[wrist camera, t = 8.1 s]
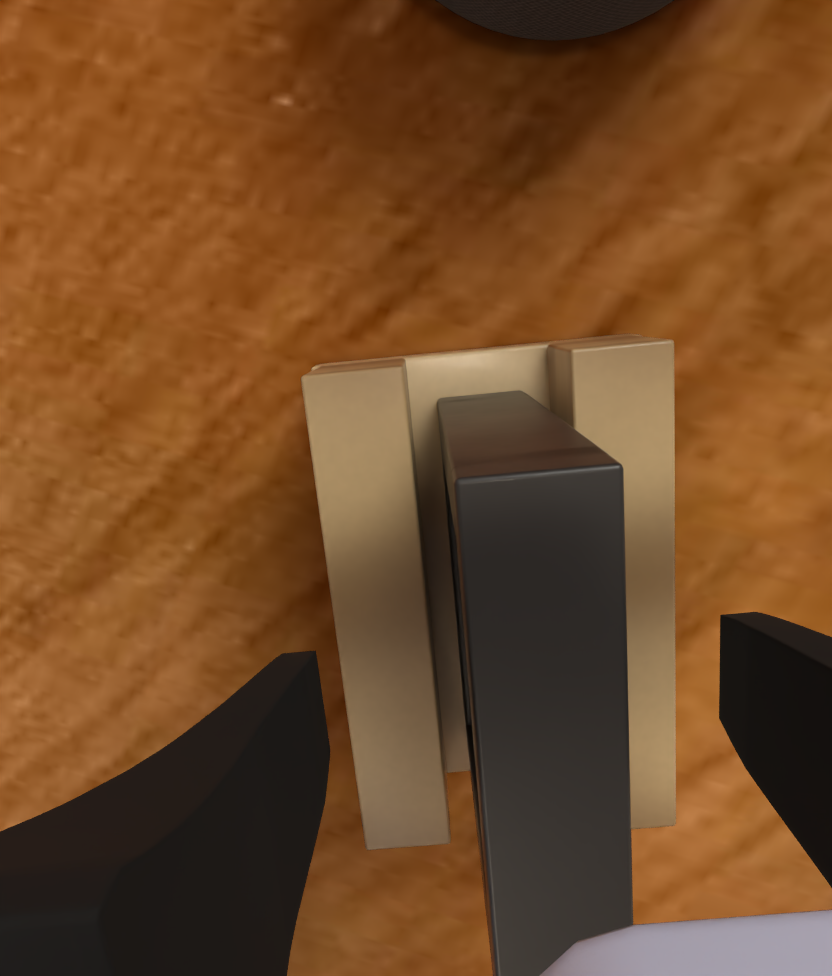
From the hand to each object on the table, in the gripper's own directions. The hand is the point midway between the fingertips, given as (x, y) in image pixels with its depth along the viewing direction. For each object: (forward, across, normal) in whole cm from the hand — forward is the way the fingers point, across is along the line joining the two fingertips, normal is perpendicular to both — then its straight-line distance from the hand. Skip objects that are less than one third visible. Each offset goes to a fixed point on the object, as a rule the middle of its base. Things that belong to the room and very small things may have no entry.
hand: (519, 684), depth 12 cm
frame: (+5, 0, 0) cm, 5 cm away
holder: (+6, 0, 0) cm, 6 cm away
